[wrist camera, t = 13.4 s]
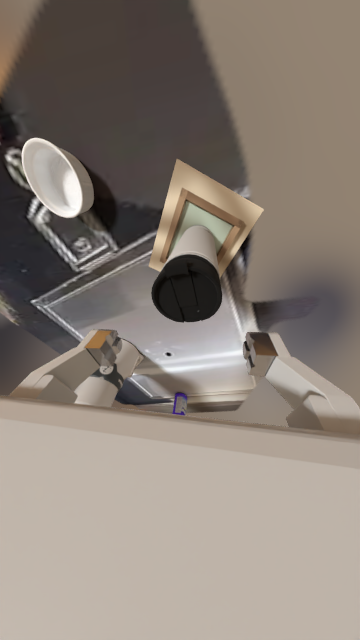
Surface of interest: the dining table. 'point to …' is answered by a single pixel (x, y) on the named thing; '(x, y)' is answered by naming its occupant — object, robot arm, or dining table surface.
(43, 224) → the dining table surface
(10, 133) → the dining table surface
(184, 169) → the board
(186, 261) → the travel mug
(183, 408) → the bottle
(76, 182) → the ramekin
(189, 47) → the dining table surface
